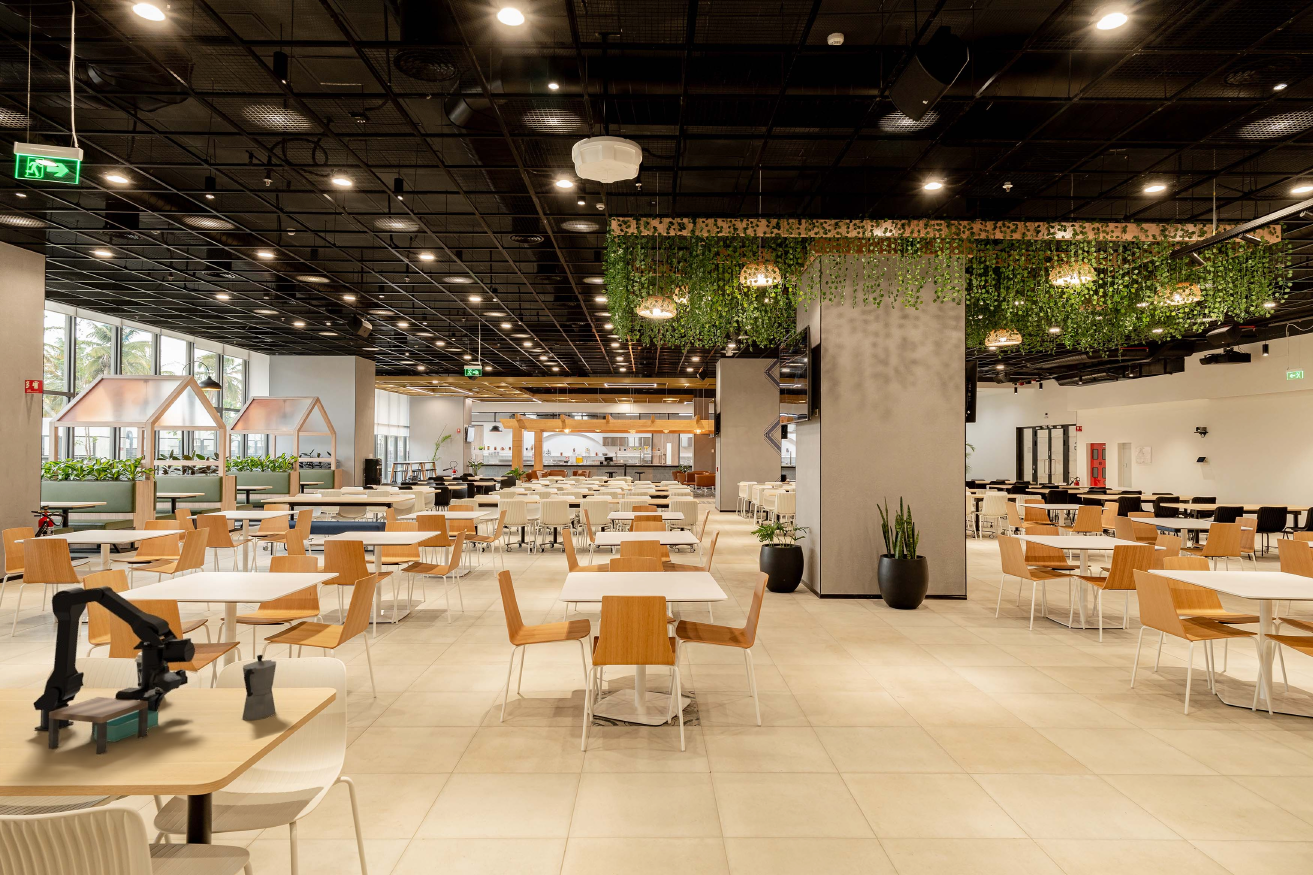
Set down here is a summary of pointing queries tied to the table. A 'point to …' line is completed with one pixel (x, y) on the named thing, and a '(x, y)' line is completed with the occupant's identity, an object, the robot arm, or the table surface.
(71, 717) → the wooden step stool
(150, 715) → the tray
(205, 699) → the table surface
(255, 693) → the coffeepot
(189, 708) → the table surface
